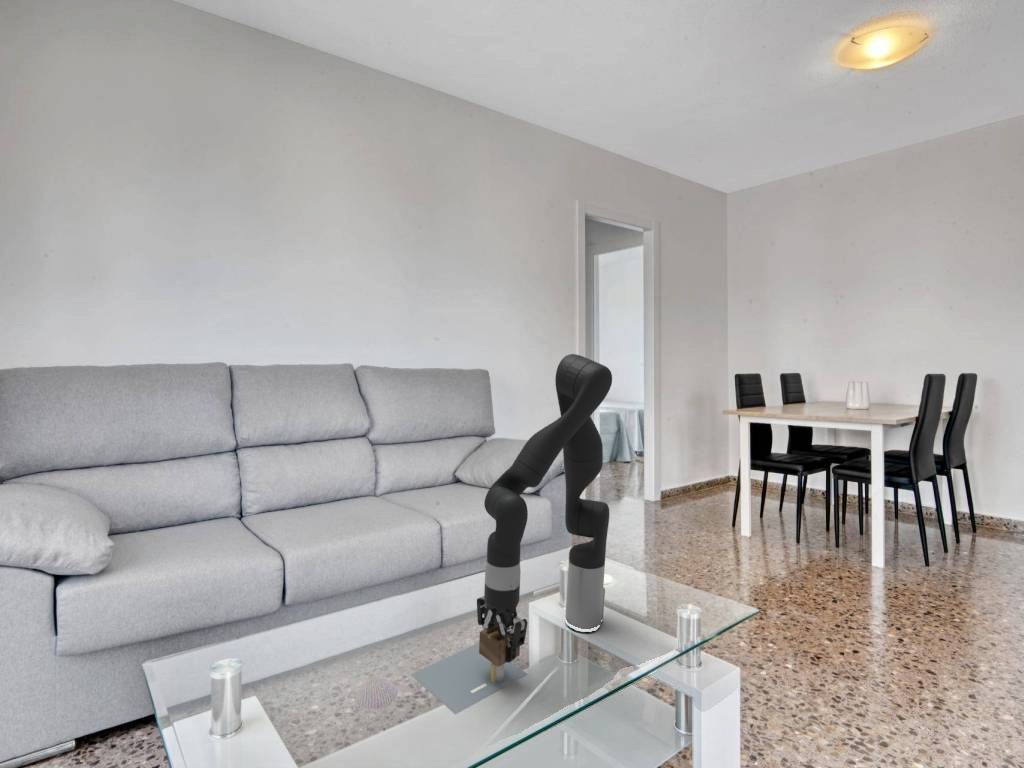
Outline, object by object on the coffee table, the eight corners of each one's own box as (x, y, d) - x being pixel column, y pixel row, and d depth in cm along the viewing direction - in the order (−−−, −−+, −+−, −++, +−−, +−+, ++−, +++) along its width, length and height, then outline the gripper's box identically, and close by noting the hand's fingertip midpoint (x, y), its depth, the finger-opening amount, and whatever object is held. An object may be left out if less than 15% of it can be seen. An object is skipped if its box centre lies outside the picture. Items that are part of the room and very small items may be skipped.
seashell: (392, 665, 129) (407, 682, 120) (393, 691, 128) (408, 710, 120) (345, 677, 124) (356, 696, 115) (345, 704, 124) (357, 724, 115)
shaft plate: (481, 646, 142) (481, 625, 141) (527, 678, 131) (528, 657, 130) (410, 679, 129) (410, 657, 128) (455, 719, 117) (455, 695, 116)
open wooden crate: (500, 642, 132) (501, 619, 131) (519, 655, 128) (520, 631, 127) (479, 653, 128) (479, 629, 127) (497, 666, 123) (498, 642, 123)
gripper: (467, 573, 128) (465, 644, 130) (512, 599, 118) (509, 676, 120) (493, 563, 133) (490, 632, 135) (539, 588, 123) (535, 662, 125)
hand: (499, 653), depth 128 cm, fingers closed on open wooden crate, 6 cm apart
